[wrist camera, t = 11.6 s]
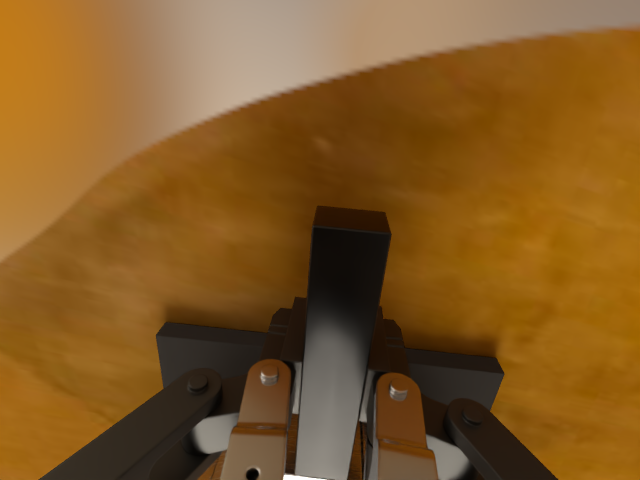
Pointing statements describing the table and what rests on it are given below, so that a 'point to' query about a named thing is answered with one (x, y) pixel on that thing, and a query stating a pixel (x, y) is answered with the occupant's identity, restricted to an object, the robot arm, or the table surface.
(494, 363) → the trivet
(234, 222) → the table surface
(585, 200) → the table surface
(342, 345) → the steel pan
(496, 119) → the table surface
